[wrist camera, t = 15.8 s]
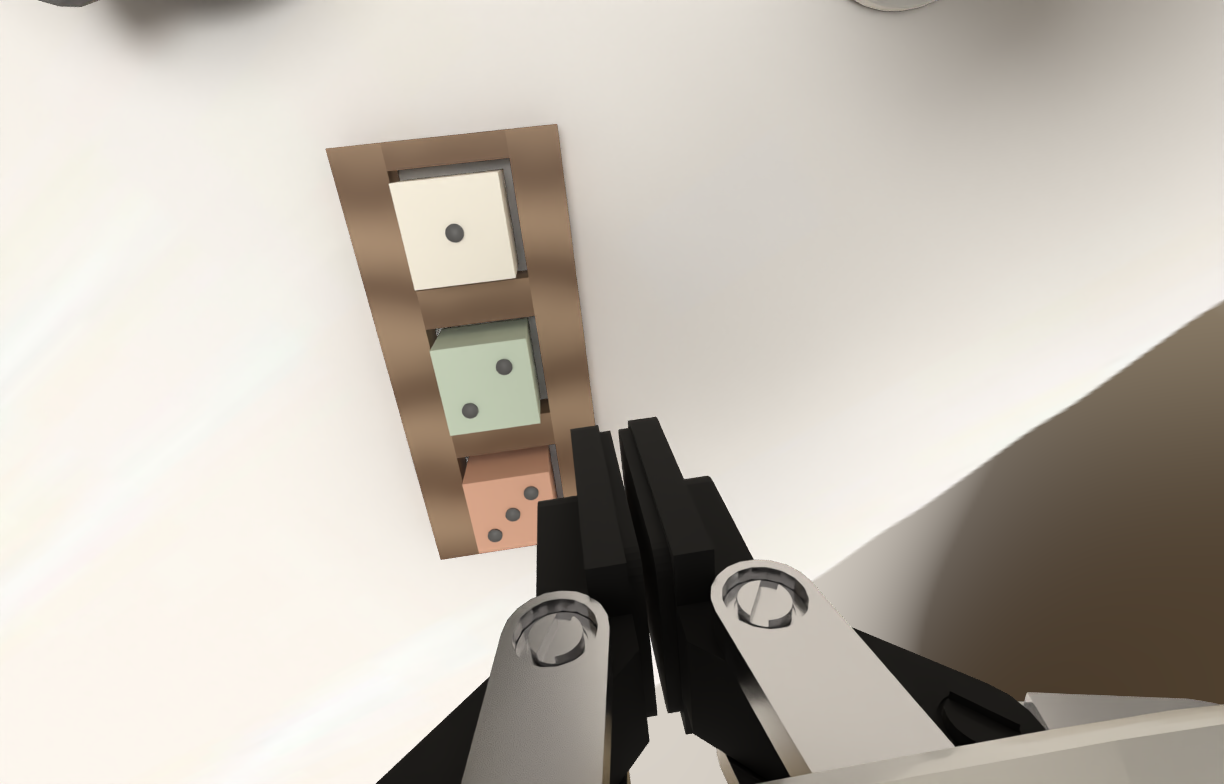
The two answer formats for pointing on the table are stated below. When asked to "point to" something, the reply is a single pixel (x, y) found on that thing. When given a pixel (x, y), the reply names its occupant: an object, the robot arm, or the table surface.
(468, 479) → the tile three pip
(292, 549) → the table surface
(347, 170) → the tray
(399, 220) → the tile one pip
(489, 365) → the tile two pip
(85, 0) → the vessel
